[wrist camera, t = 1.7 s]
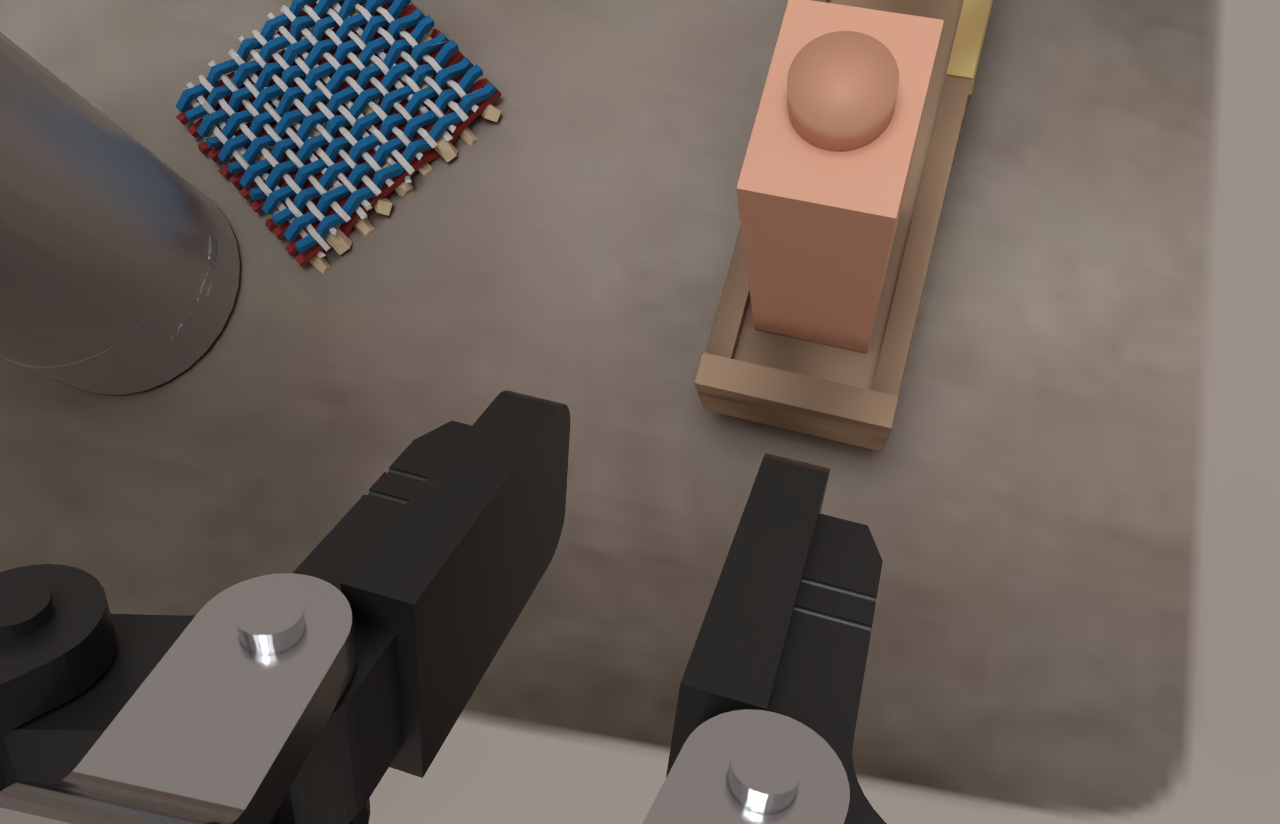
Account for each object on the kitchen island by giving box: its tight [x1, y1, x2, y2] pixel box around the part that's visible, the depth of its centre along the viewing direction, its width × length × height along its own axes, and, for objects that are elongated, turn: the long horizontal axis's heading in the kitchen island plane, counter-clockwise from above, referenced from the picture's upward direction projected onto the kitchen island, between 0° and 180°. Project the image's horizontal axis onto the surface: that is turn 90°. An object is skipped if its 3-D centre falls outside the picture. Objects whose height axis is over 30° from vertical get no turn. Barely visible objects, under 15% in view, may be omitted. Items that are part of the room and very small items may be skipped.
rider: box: [737, 0, 944, 353], centre depth 28 cm, size 4×5×11 cm
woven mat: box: [176, 0, 501, 273], centre depth 41 cm, size 10×11×2 cm
